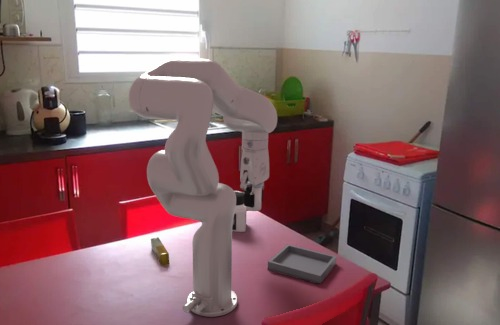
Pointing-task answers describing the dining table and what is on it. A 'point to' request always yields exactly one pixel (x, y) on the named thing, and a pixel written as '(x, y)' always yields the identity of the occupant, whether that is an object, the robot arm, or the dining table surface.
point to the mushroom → (256, 198)
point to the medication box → (160, 251)
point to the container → (239, 213)
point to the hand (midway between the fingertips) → (253, 203)
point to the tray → (302, 263)
